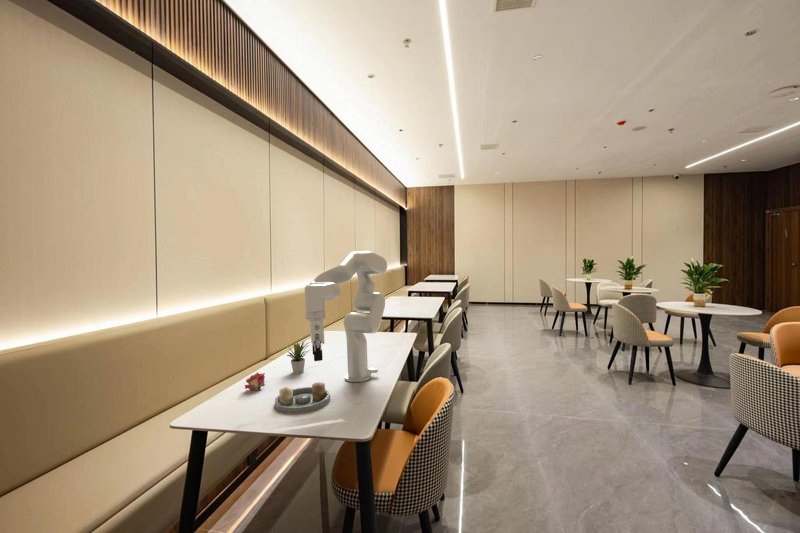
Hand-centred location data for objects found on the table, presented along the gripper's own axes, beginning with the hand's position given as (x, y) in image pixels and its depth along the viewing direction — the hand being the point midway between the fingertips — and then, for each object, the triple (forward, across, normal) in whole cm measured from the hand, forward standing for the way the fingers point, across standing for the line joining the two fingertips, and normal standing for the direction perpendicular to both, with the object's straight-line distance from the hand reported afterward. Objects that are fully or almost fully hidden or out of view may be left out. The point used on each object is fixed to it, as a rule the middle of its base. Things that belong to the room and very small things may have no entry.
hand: (317, 357), depth 144 cm
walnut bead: (+17, 0, 0) cm, 17 cm away
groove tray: (+18, 0, +6) cm, 19 cm away
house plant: (+18, +43, +6) cm, 47 cm away
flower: (+18, +24, +26) cm, 40 cm away
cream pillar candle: (+17, 0, +13) cm, 21 cm away
